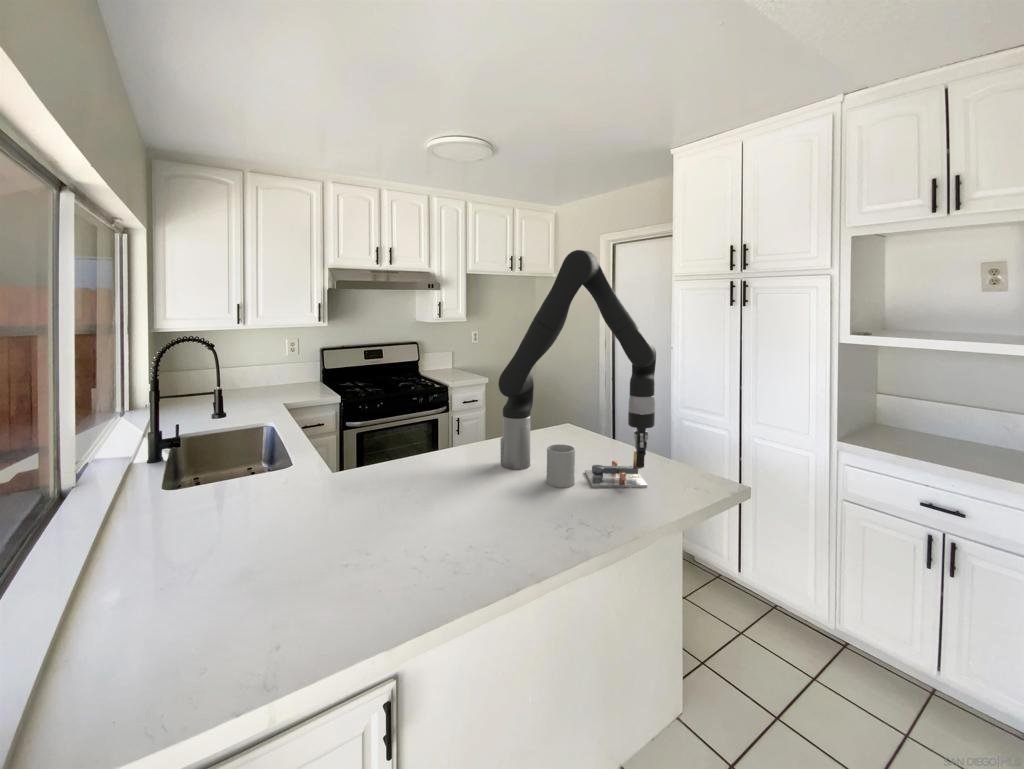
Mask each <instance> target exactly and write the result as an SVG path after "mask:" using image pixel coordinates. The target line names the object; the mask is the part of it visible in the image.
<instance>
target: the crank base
mask: <svg viewBox="0 0 1024 769" xmlns="http://www.w3.org/2000/svg"><path fill="white" fill-rule="evenodd" d="M611 466H618V461H617V460H612V461H611ZM584 474H585V477H586V478H587V480H588V482H589V485H590V486H591V488H592V489H596V488H597V489H598V488H599V489H602V488H605V489H607V488H616V489H617V488H618V489H619V488H648V484H647V483H646V481H645V480H644V479H643V478H642V476H641V475H640V473H638V474H626V473H624V472H620V474H600V475H598V474H593V473H592V469H585V470H584Z"/></svg>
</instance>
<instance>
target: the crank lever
mask: <svg viewBox="0 0 1024 769" xmlns="http://www.w3.org/2000/svg"><path fill="white" fill-rule="evenodd" d="M636 460H637V455H636V450H635V451H633V460H632V462H633V464H632V465H631V466H630V465H617V466H612V465H603V464H602V465H601V464H593V465H592V466H591V470H592V473H593V474H598V475H600V474H620V472H624V473H626V474H639V470H641V469H642V468H638V467H637V465H636Z"/></svg>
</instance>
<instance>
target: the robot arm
mask: <svg viewBox="0 0 1024 769" xmlns="http://www.w3.org/2000/svg"><path fill="white" fill-rule="evenodd" d="M561 263H562V264H561V266H560V268H559V270H558V273H557V275H556V277H555V279H554V282H553V285H552V287H551V288H550V291H549V292H548V294H547V295H546V296H545V298H544V300H543V302H542V303H541V305H540V307H539V310H538V311H537V312H536V314H535V316H534V318H533V319H532V320H531V323H530V324H529V327H528V329H527V331H526V333H525V334H524V336H523V338H522V340H521V342H520V344H519V346H518V348H517V349H516V351H515V353H514V354H513V356H512V358H511V359H510V360H509V362H508V363H507V365H506V366H505V368H504V369H503V371H502V372H501V374H500V375H499V379H498V382H497V383H498V389H499V392H500V393H501V394H502V395H503V396H504V397H506V398H507V400H506V403H505V404H504V406H503V408H502V437H501V438H500V466H501V467H504V468H505V469H508V470H524V469H528V468H529V467H531V411H532V408H533V405H534V387H535V386H534V384H535V383H534V378H533V374H532V372H531V371H532V369H533V368H534V366H535V365H536V364H537V362H538V361H539V360H540V359H541V358H542V357H543V356H544V355H545V354H546V353H547V352H548V351H549V350H550V349H551V347H552V346H553V345H554V344H555V342H556V340H557V339H558V337H559V336H560V334H561V332H562V330H563V329H564V326H565V324H566V321H567V318H568V315H569V314H568V313H569V310H570V307H571V304H572V302H573V299H574V298H575V296H576V295H577V294H578V292H579V290H580V289H581V287H582V286H583V287H584V288H585V289H586V290H587V291H588V292H589V294H590V295H591V297H592V298H593V299H594V302H595V303H596V305H597V308H598V310H599V312H600V315H601V318H603V319H602V320H604V323H605V324H606V325H607V327H608V328H609V330H610V331H611V333H612V334H613V336H614V337H615V338H616V339H617V341H618V342H619V344H620V346H621V348H622V350H623V352H624V353H625V356H626V357H627V359H628V360H629V362H630V363H631V377H630V379H629V398H628V405H627V406H628V407H627V408H628V409H627V410H628V413H627V417H628V418H627V422H628V423H627V424H628V426H629V427H631V428H636V430H634V431H633V438H634V448H635V451H636V455H637V460H636V465H637V467H638V468H641V469H642V468H643V469H644V468H645V456H646V454H647V453H646V452H647V448H648V439H649V432H648V431H646V429H651V428H653V427H654V426H655V421H656V420H655V418H656V417H655V416H656V414H655V413H656V400H655V373H656V372H655V371H656V362H657V351H656V348H655V346H654V345H653V344H651V343H650V342H648V341H647V340H646V339H645V337H644V336H643V334H642V333H641V332H640V329H639V326H638V324H637V323H636V321H635V320H634V318H633V317H632V316H631V314H630V312H629V311H628V310H627V309H626V307H625V305H624V304H623V302H622V301H621V299H620V298H619V297H618V296H617V294H616V293H615V291H614V289H613V288H612V286H611V284H610V283H609V281H608V279H607V277H606V275H605V273H604V270H603V269H602V266H601V265H600V262H599V261H598V258H597V256H596V255H595V254H594V253H592V252H591V251H588V250H583V249H576V250H573V251H571V252H570V253H568V254H567V255H566V256H565V258H564V259H563V261H562V262H561Z"/></svg>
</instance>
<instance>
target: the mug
mask: <svg viewBox="0 0 1024 769" xmlns="http://www.w3.org/2000/svg"><path fill="white" fill-rule="evenodd" d="M575 461H576V449H575V447H574V446H572V445H569V444H560V443H559V444H552V445H548V446H547V448H546V484H547V485H549V486H550V487H552V488H557V489H567V488H570V487H573V486H574V485H575V472H576V471H575V470H576V469H575V468H576V462H575Z"/></svg>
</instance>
